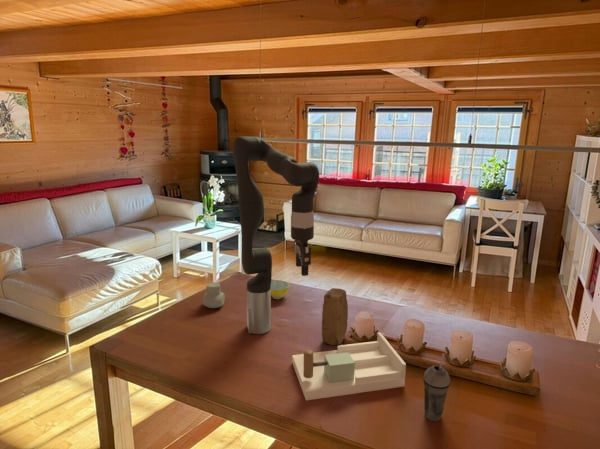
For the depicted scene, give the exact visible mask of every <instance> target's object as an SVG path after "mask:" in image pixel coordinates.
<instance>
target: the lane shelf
mask: <svg viewBox="0 0 600 449" xmlns="http://www.w3.org/2000/svg"><path fill="white" fill-rule="evenodd" d="M376 337H377V340H375V341H367V342H358V343H350V344H349V343H348V344H339V345H337V349H333V350H326V351H317V352H314V354H313V363H316V362H324V357H325V355H329V354H338V353H346V352H349V354H350V355H351V357H352V359H353V360H354V362H355V371H354V380H348V381H340V382H333V383H329V381H328V379H327V377H326V375H325V372H324V366H317V367H313V377H312V378H305V377H304V376H303V371H304V353H300V354H292V358H291V360H292V366H293V369H294V371H295V374H296V377H297V379H298V383H299V385H300V388H301V391H302V393H303V396H304V399H305V401H311V400H319V399H327V398H332V397H339V396H340V397H341V396H346V395H355V394H360V393H367V392H368V393H369V392H374V391H382V390H388V389H395V388H403V387H405V382H406V369H407V364H406V362H405V361H404V359H403V358H402V357H401V356H400V354H398V352H397V351H396V350H395V349H394V348H393V346H392V345H391V343H389V341H388V340H387V338H386V337H385V336H384V335H383V334H382V332H377V336H376ZM378 347H379V348H378Z"/></svg>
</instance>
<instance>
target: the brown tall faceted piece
mask: <svg viewBox="0 0 600 449" xmlns="http://www.w3.org/2000/svg"><path fill="white" fill-rule="evenodd" d="M348 308H349V306H348V298H347V290H345V289H343V288H335V287H332V288H331V289H329V290H328V291H327V292H326V293H325V294H324V295H323V303H322V313H321V338H322V341H323V343H325V344H327V345H331V346H339V345H342V343H343V342H344V340H343V338H344V339H345V337H346V334H347V330H348V319H349V318H348V317H349V311H348V310H349V309H348ZM342 341H343V342H342Z"/></svg>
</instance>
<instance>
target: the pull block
mask: <svg viewBox="0 0 600 449" xmlns="http://www.w3.org/2000/svg"><path fill="white" fill-rule="evenodd" d="M314 353H315V352H314V351H313V350H311V349H305V350H304V351H303V354H304V371H303V376H304V377H305V378H312V377H313V367H317V366H324V372H325V375H326V377H327V379H328V381H329V383H333V382H340V381H348V380H354V371H355V362H354V360H353V359H352V357H351V355H350V354H349V352H346V353H338V354H329V355H325V357H324V362H316V363H313V354H314Z"/></svg>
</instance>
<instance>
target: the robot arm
mask: <svg viewBox="0 0 600 449" xmlns="http://www.w3.org/2000/svg"><path fill="white" fill-rule="evenodd" d="M232 155H233V161H234V167H235V173H236V174H235V175H236V181H237V192H238V209H239V210H238V211H239V219H240V220H239V222H240V233H241V235H240V236H241V266H242V270H243V272H244V274H246V275H249V276H250V275H255V276H253V277H252V278H250V279H249V280H248V281H247V283H246V328H247V331H248V334H254V335H264V334H267V333H269V332H270V331H271V329H272V308H271V307H272V300H271V299H272V296H271V281H272V274H273V273H272V272H273V258H272V253H271V251H270V249H269V248H267V247H260V248H254V249H253V243H254V238H255V236H256V234H257V231H258V230H259V227H260V225H261V223H262V221H263V219H264V216H265V204H264V196H263V193H262V192H261V190H260V189H259V187H258V185H257V184H256V182H255V181H254V179H253V177H252V176H251V172H250V171H251V170H250V168H249V163H252V162H253V163H254V162H255V163H256V162H264V163H266V165H267V166H268V168H269V170H271V171H272V172H274V173H275V174H278V175H279V176H281V177H282V178H284V180H285V182H287V183H288V184H289V185H292V186H296V187H297V186H301V188H300V189H299V190H298V191H296V192H294V193H293V194H292V196H291V215H290V238H291V239H292V240H294V241H293V243H294V244H293V253H294V255H295V266H296V267H299V268H300V267H301V268H300V269H301V276H302V277H304V276H305V277H307V276H309V265H310V266H311V265H312V262H311V261H312V252H311V251H312V248H311V246H310V244H309V241H310V240H311V241H312V240H313V239H314V235H315V232H314V231H315V217H314V216H315V215H314V198H315V195H316V192H317V188H318V184H319V180H320V171H319V167H318V166H317V164H316V163H314V162H311V161H307V162H306V161H305V162H298V161H297V159H295V158H294V157H293V156H291V155H289V154H287V153H284V152H282V151H280V150H277V149H276V148H274V147H273V146H271V145H270V144H269V143H267V142H266V141H265V140H264V139H262V138H261V137H258V136H255V135H253V136H249V135H248V136H243V135H241V136H237V137H235V138H234V140H233V143H232ZM305 259H306V260H305Z"/></svg>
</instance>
